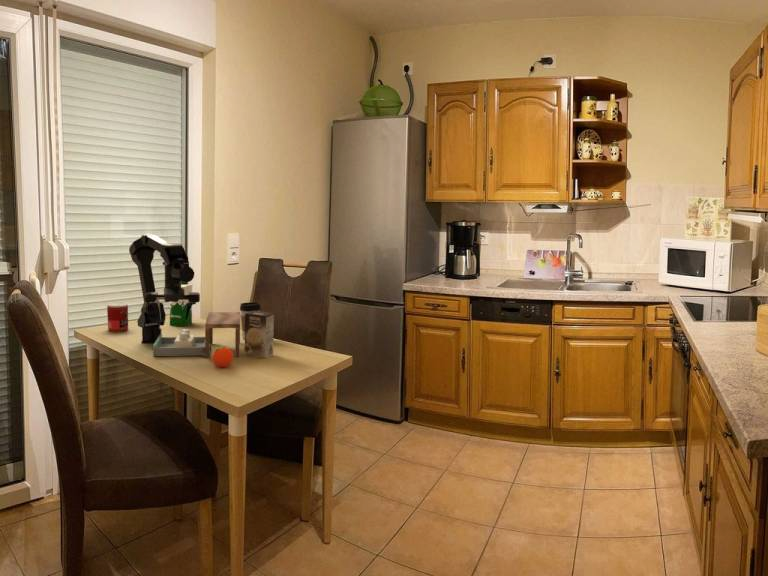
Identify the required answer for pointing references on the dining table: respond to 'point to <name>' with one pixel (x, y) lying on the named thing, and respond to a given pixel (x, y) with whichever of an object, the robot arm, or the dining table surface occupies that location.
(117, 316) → the canned food
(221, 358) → the clementine
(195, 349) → the drawer
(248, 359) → the dining table surface
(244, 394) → the dining table surface
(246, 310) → the black lidded jar
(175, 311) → the milk carton
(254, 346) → the coffee box
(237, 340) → the wooden stand
